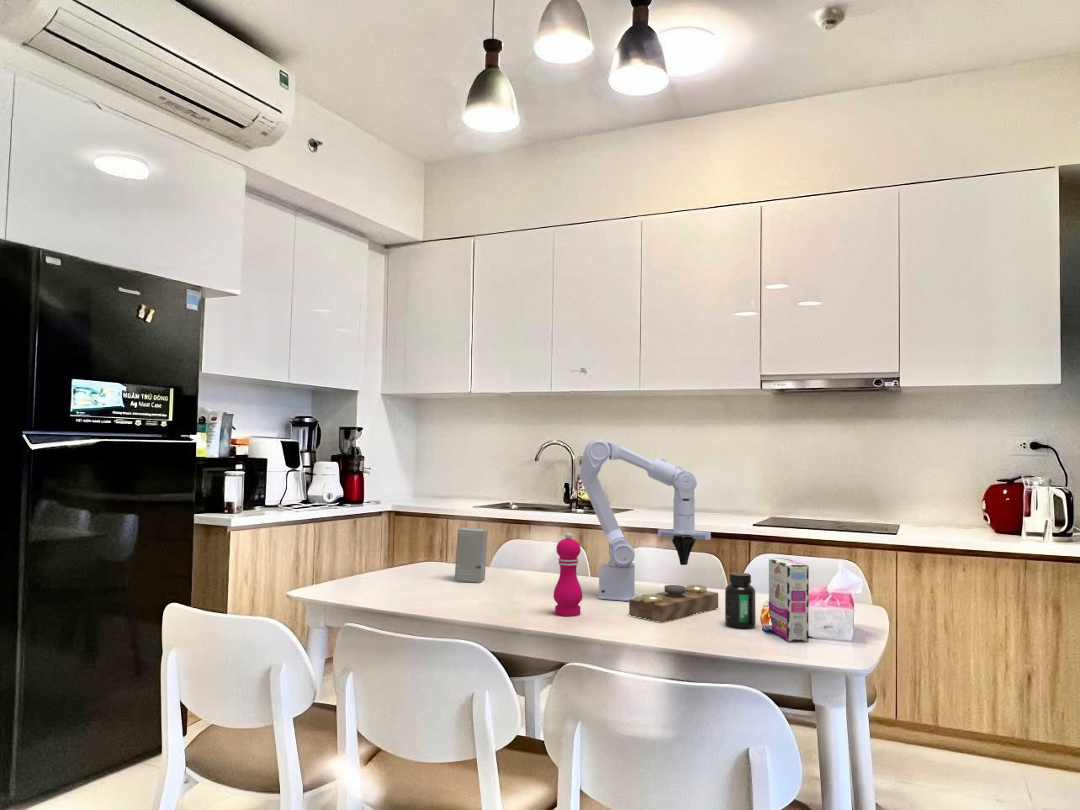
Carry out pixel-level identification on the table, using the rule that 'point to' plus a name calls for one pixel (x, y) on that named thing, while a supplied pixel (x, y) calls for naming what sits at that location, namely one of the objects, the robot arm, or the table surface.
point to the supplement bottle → (740, 602)
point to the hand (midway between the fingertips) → (683, 564)
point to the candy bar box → (789, 599)
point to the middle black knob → (674, 590)
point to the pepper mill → (568, 578)
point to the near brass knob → (651, 598)
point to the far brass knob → (696, 589)
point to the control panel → (674, 606)
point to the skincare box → (471, 555)
